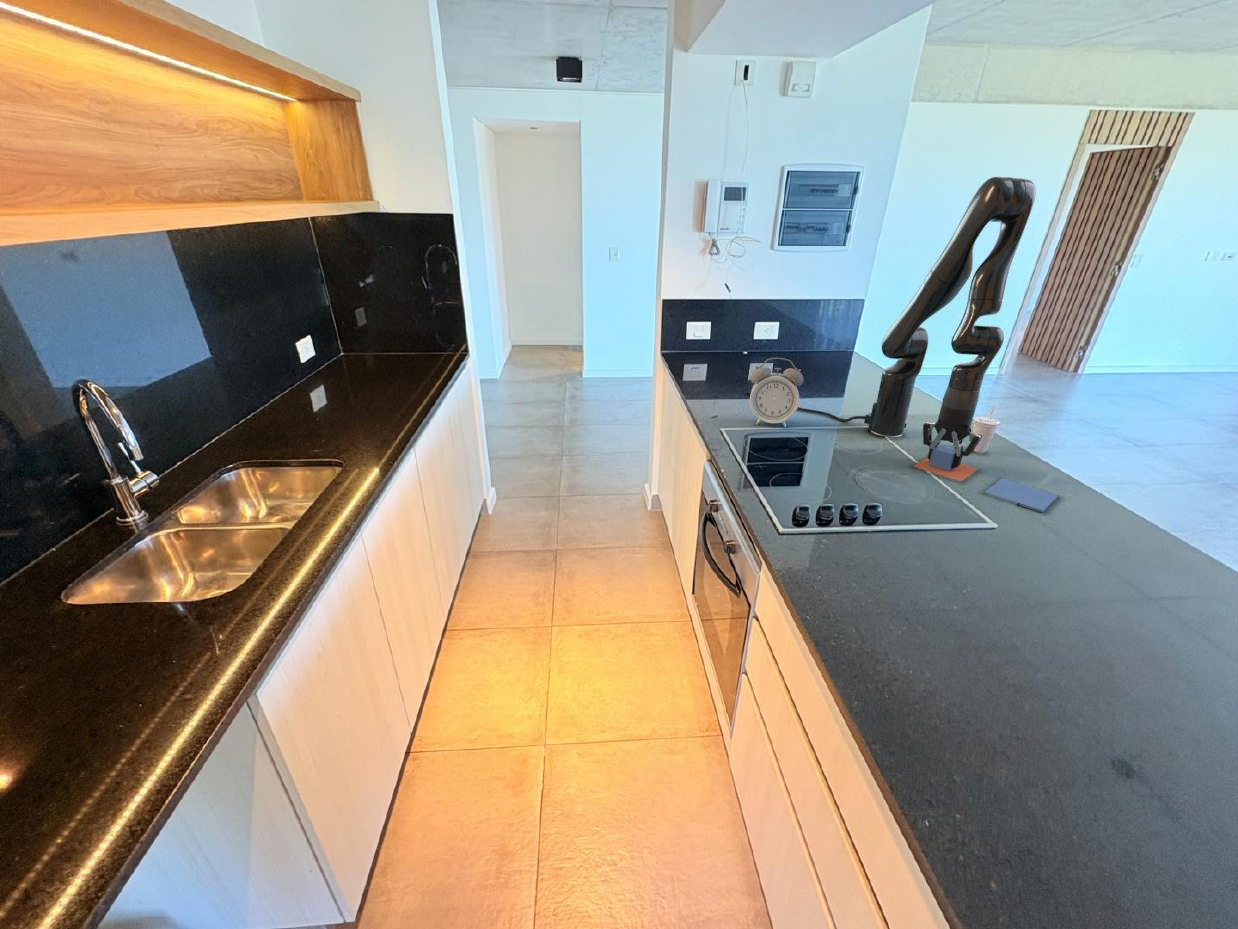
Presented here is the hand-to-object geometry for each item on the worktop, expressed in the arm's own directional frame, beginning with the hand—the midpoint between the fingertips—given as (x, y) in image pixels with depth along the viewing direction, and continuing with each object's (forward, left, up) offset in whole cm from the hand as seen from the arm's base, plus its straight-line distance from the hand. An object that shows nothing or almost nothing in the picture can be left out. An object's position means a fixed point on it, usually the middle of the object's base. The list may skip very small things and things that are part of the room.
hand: (942, 464), depth 143 cm
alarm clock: (-51, -6, -1) cm, 51 cm away
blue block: (0, 0, -1) cm, 1 cm away
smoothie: (+2, +20, -1) cm, 20 cm away
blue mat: (+19, -2, -1) cm, 19 cm away
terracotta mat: (+1, 0, -1) cm, 2 cm away
